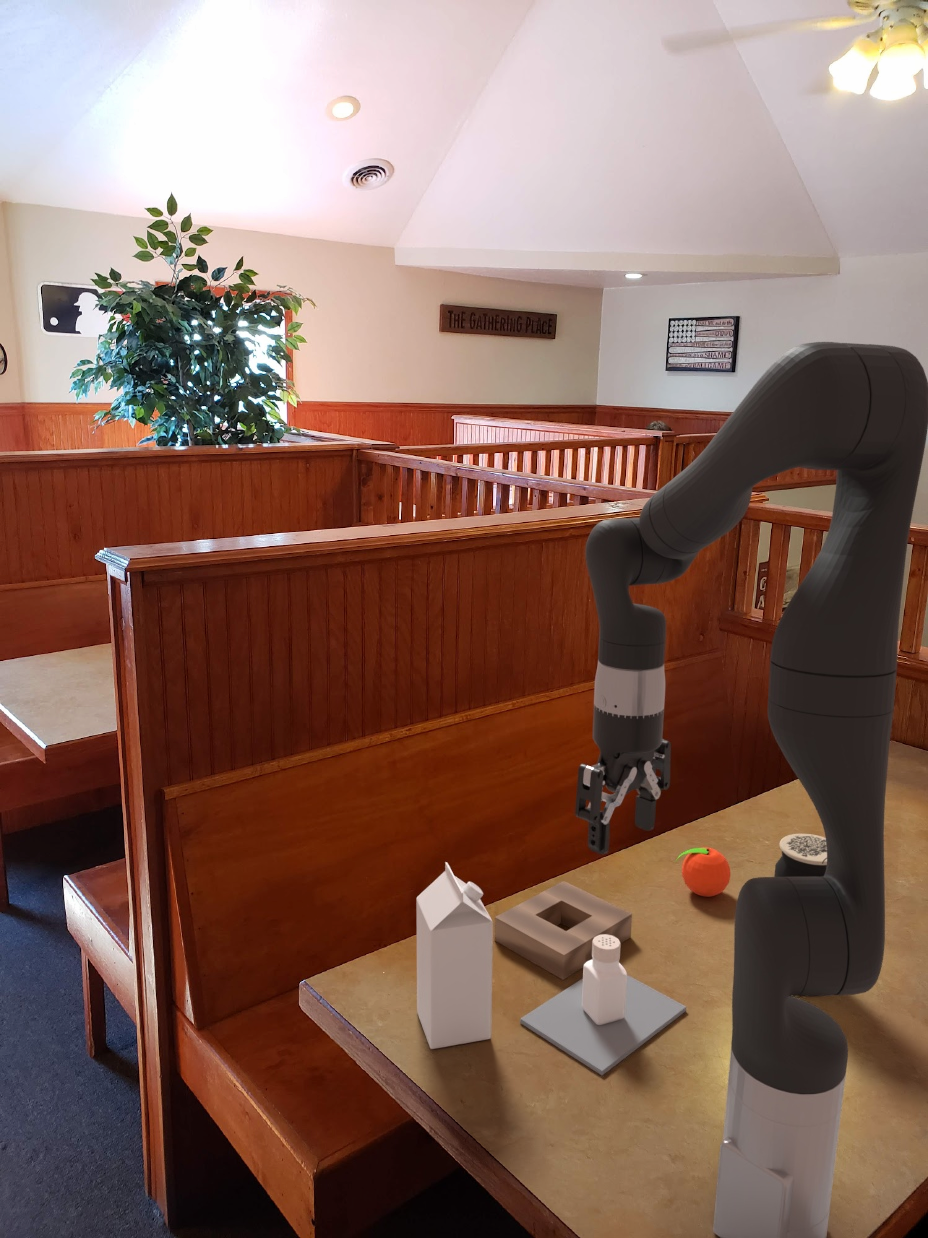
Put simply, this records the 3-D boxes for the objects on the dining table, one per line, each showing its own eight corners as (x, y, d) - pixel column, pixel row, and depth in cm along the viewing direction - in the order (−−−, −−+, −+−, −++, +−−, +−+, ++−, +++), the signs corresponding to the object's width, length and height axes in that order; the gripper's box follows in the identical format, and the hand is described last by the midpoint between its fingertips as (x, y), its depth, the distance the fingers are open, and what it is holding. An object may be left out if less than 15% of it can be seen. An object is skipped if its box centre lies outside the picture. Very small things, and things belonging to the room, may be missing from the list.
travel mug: (752, 975, 120) (764, 844, 116) (787, 952, 125) (800, 826, 121) (810, 1006, 115) (824, 869, 110) (844, 980, 120) (859, 849, 115)
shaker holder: (563, 980, 119) (564, 955, 118) (494, 940, 128) (494, 917, 127) (630, 937, 129) (632, 913, 128) (562, 903, 137) (563, 881, 136)
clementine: (673, 902, 137) (676, 857, 136) (672, 879, 144) (674, 835, 142) (730, 908, 136) (734, 862, 134) (726, 884, 143) (730, 840, 141)
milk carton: (430, 1051, 106) (430, 897, 102) (416, 1012, 113) (415, 866, 108) (491, 1040, 108) (494, 888, 104) (474, 1002, 115) (475, 858, 110)
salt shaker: (626, 1020, 111) (630, 947, 109) (597, 1028, 109) (600, 955, 107) (608, 1000, 114) (612, 929, 112) (579, 1008, 113) (582, 936, 111)
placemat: (601, 1076, 103) (602, 1071, 102) (520, 1023, 111) (520, 1018, 111) (686, 1011, 113) (686, 1006, 113) (605, 967, 122) (605, 963, 122)
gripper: (617, 725, 96) (610, 873, 100) (695, 695, 105) (686, 831, 109) (559, 708, 101) (555, 848, 105) (639, 681, 111) (632, 810, 114)
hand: (622, 839), depth 107 cm, fingers open, 8 cm apart
